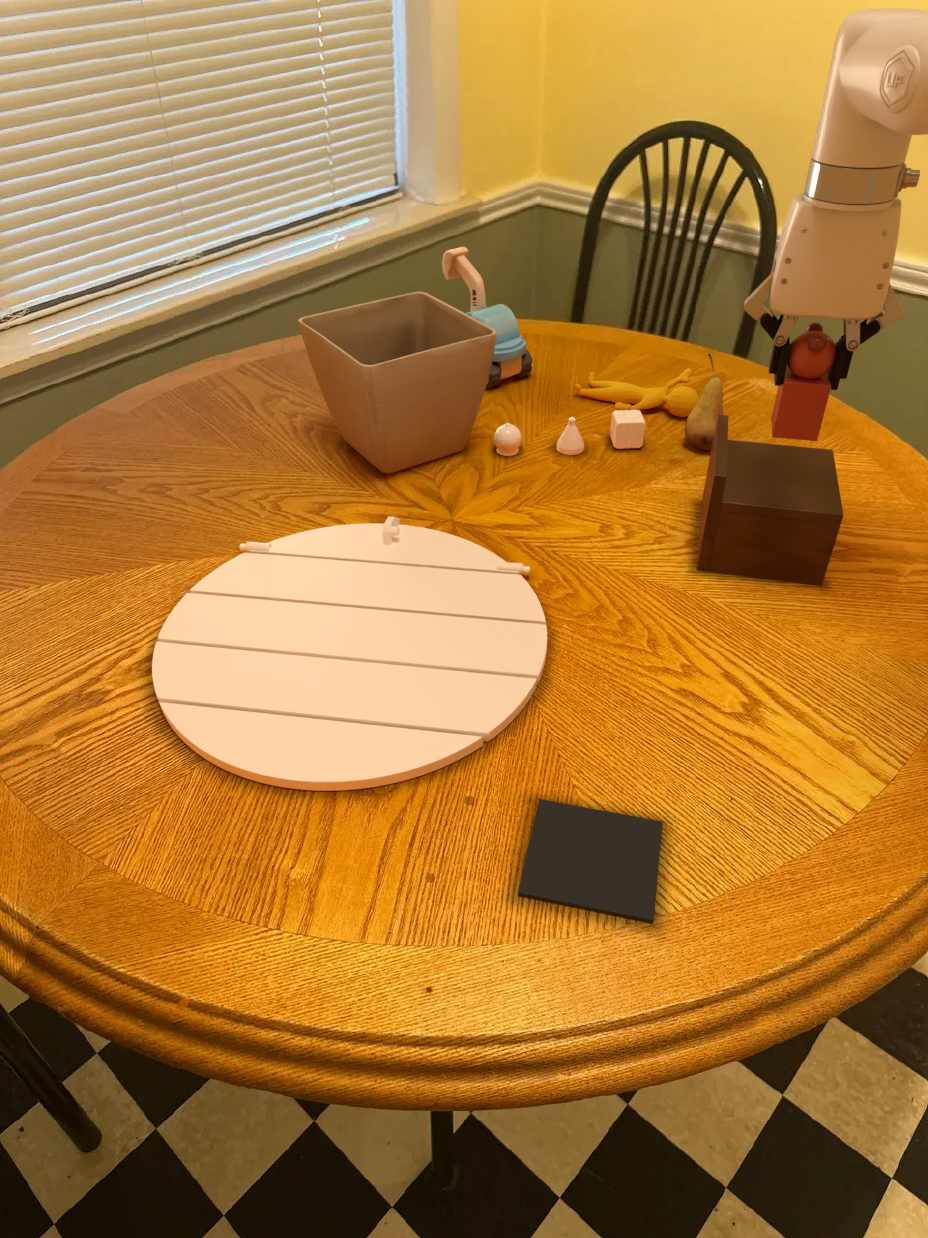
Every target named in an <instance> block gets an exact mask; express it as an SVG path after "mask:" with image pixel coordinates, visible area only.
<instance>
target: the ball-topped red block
mask: <svg viewBox="0 0 928 1238" xmlns="http://www.w3.org/2000/svg"><path fill="white" fill-rule="evenodd" d="M836 354H837V350H836V342H835V341H834V339H833V338H832V337H831V336H830V335H828V334H827V333H825V332H824V327H823V325H822V324H821V323H819V322H812V323H810V324H808V325H807V326H806V328H805V332H802V333H800V334H799V335H797V336H796V337H795V338H794V339H793V340H792V341H790V354H789V358H788V363H787V367H786V372H785V377H784V381H783V385H780V386H777V390H776V393H775V399H774V404H773V408H772V412H771V416H770V421H771V437H772V438H776V439H786V440H797V441H801V440H802V441H811V442H818V440H819V435H820V431H821V428H822V424H823V420H824V416H825V412H826V408H827V405H828V400H829V397H830V393H831V382H830V377H829V370H830V369H831V368H832V366H833V365H834V363H835V360H836Z"/></svg>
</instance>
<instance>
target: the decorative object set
mask: <svg viewBox="0 0 928 1238" xmlns="http://www.w3.org/2000/svg"><path fill="white" fill-rule="evenodd" d="M576 419H577V418H575V417H574V416H570V417H569V418H568V422H567V423H568V424H567V425H566V427H565V428H564V430H563V431H562V433H561V434H560V436H559V437H558V439H557V441H556V446H555V447H556V450H557V452H559V453H560V454H563V455H566V456H567V455H568V456H573V455H574V456H575V455H580V454H582V452H584V451H585V441H584V439H583V437H582V435H581V433H580V430H579V429H578V426H577V425H576V421H577V420H576ZM645 428H646V421H645V419H644V416H643V413H642V411H641V410H624V411H623V410H616V409H615V410H614V411H612V412H611V422H610V430H609V436H610V440H611V443H612V445H613V448H615V449H640V448H641V447H642V446H643V445H644V437H645ZM493 435H494V436H493V441H494V444H495V446H496V453H497V454H498V455H501V456H506V457H510V456H511V457H512V456H515V455H517V454H518V453H519V452H520V449H519V447H520V446H521V443H522V440H523V436H522V432H521V429H519V427H518V426H516V425H515V424H513V423H510V422H506V423H503V424H501V425H500V426H499V427H497V428H496V430H495V431H494V434H493Z"/></svg>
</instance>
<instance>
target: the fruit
mask: <svg viewBox="0 0 928 1238" xmlns="http://www.w3.org/2000/svg"><path fill="white" fill-rule="evenodd" d="M707 356H708V358H709V360H710V365H711V368H712V374H713V375H712V378H710V379H709V380H708V382H707V384H706V385H705V387H704V389H703V392H702V394H701V396H700V398H699V399H698V403H697V405H696V406H695V407H694V409H693V410H692V412H691V413H690V415H689V416H687V418H686V420H685V424H684V435H685V438H686V440H687V441H688V442H689V444H691V445H692V447H694V448H696V449H697V450H698V449H699V450H702V451H710V450H711V448H712V443H713V437H714V432H715V426H716V421H717V415H725V411H724V406H723V405H724V404H723V403H724V402H723V398H724V397H723V396H724V394H723V393H724V392H723V389H724V388H723V382H722V380H721V378H720V377H719V376H717V374H716V371H715V366H714V365H715V364H714V360H713V356H712V354H711V353H708V354H707Z"/></svg>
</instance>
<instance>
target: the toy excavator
mask: <svg viewBox="0 0 928 1238" xmlns="http://www.w3.org/2000/svg"><path fill="white" fill-rule="evenodd" d="M469 251H470V250H469V249H468V248H467V247H466V246H460V247H456V248H452V249H448V250H446V251H445V252H444V253H443V255H442V259H441V269H442V273H443V276H444V278H445V280H446V281H447V282H451V281H455V280H458V279H461V278H462V280H463V281H464V283H465V284H466V286H467V288H468V289H469V292H470V311H468V312H466V313H465V314H467V315H469V316H471V317H473V318H474V319H476V320H478V321H480V322H482V323H484V324H486V325H488V326H489V327H491V328H493V329H495V330H496V331H497V337H496V344H495V350H494V355H493V360H492V364H491V369H490V373H489V377H488V381H487V385H486V389H488V388H491V387H494V386H496V385H498V384H500V382H501V381H502V380H504V379H507V378H510V377H512V376H515V375H516V376H517V377H518V378H521V377H523V376H526V375H528V374H530V373H531V372H532V371H533V367H532V364H533V362H534V360H533V357H532V355H531V353H530V351H529V350H528V349H527V341H526V340H525V339H524V337H523V335H521V334H520V327H519V323H518V320H517V317H516V315H515V314H514V312H513V311H512V309H510V307H508V306H507V305H506V304H503V303H499V304H495V305H492V306H489V307H488V306H487V301H486V300H487V299H486V291H485V285H484V280H483V278H482V275H481V274H480V273H479V272H478V270H477V269H476V268H475V267H474V266H473V264H472V263H471V262H470V261H469V260H468V256H469Z"/></svg>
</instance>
